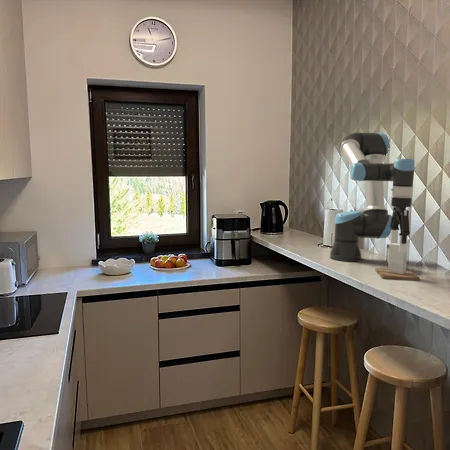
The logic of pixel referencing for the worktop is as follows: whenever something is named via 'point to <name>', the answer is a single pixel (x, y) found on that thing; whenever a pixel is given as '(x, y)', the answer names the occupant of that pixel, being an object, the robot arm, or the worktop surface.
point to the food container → (387, 256)
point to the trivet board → (396, 275)
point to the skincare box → (397, 259)
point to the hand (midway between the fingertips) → (397, 248)
